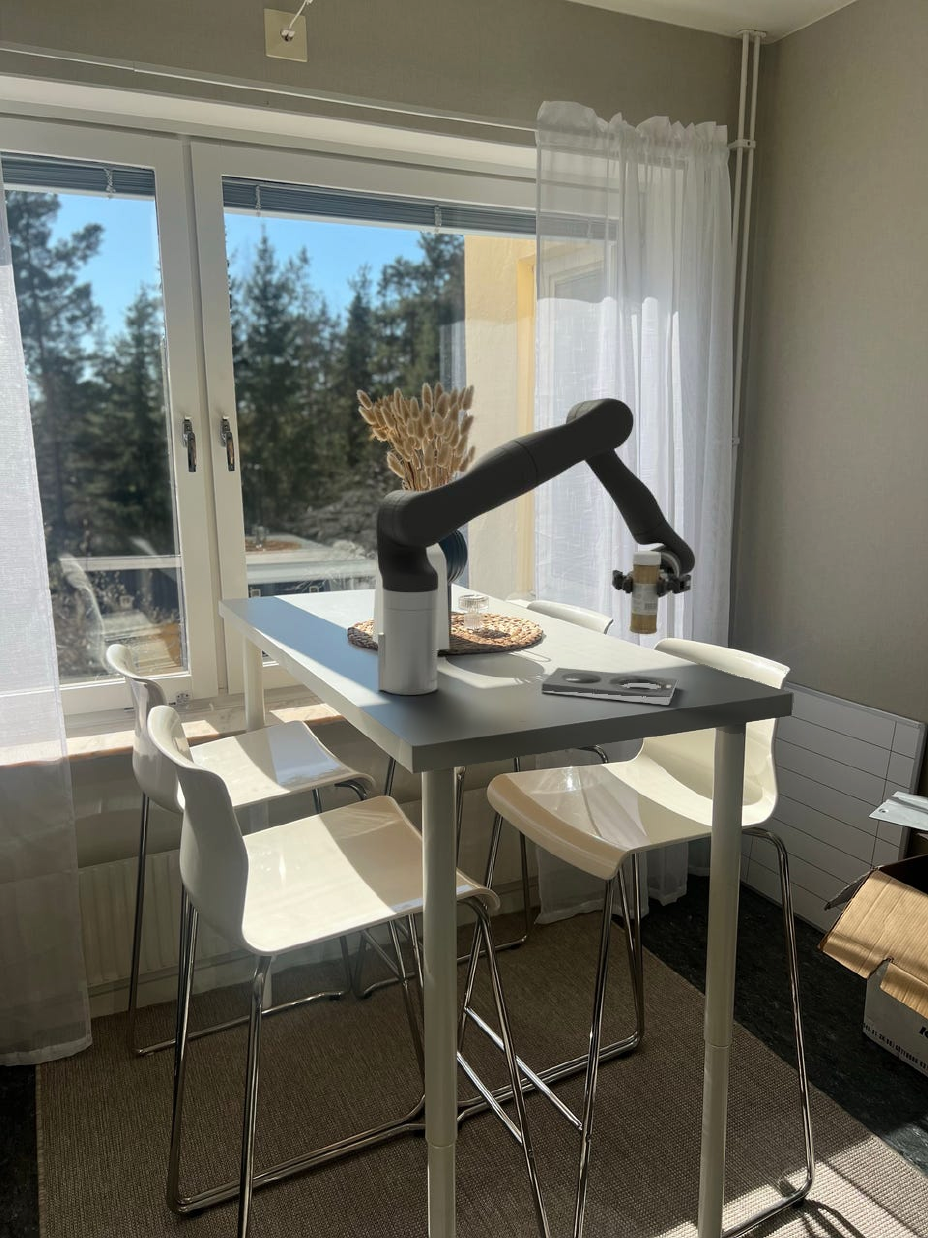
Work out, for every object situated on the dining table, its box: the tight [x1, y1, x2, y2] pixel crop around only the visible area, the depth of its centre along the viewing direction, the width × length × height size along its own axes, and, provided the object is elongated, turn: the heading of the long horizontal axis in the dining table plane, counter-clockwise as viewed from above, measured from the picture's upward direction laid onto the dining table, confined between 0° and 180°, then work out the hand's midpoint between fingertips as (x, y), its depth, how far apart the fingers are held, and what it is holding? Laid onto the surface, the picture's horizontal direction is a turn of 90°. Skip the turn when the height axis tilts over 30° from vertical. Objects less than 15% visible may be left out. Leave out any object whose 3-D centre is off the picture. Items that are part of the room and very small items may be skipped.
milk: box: [371, 542, 450, 650], centre depth 183 cm, size 12×12×26 cm
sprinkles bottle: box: [629, 550, 661, 635], centre depth 151 cm, size 5×5×13 cm
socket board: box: [541, 667, 678, 697], centre depth 155 cm, size 21×12×2 cm, turn 71°
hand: (643, 588), depth 148 cm, fingers closed on sprinkles bottle, 4 cm apart
